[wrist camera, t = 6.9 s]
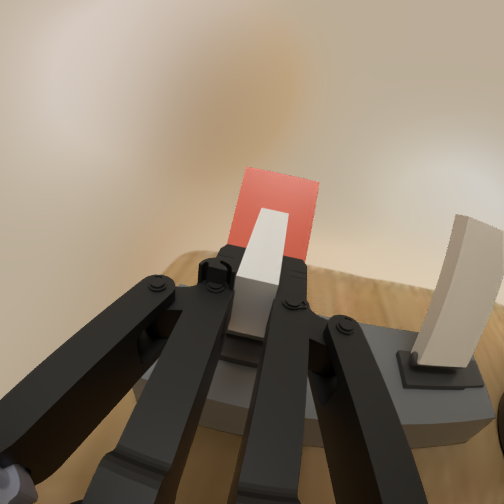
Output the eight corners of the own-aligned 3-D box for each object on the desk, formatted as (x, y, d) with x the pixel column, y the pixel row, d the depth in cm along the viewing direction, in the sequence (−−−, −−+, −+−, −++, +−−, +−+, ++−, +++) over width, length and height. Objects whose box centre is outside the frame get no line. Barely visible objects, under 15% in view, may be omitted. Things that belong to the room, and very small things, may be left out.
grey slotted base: (444, 366, 23) (468, 334, 21) (465, 442, 15) (500, 413, 13) (179, 320, 24) (179, 278, 22) (137, 405, 17) (127, 368, 14)
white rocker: (455, 362, 18) (501, 232, 15) (464, 373, 16) (514, 236, 14) (406, 358, 18) (454, 213, 16) (414, 370, 16) (467, 216, 14)
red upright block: (285, 343, 18) (316, 191, 20) (287, 348, 17) (320, 182, 18) (209, 327, 19) (245, 176, 20) (205, 329, 17) (244, 166, 19)
